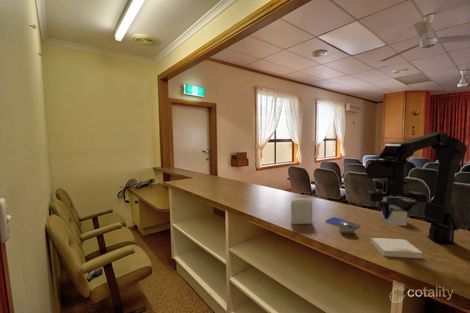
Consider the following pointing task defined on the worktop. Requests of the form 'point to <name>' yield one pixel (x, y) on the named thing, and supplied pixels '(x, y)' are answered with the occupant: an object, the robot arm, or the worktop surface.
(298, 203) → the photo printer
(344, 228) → the tin
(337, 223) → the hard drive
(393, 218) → the housing
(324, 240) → the worktop surface
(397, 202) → the soda can
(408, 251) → the stand
